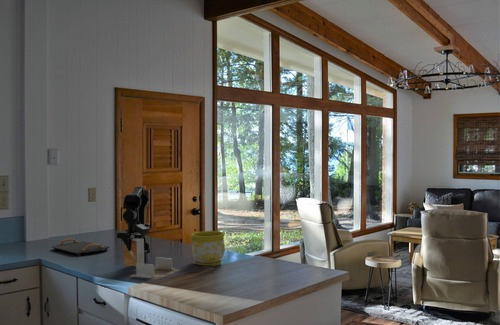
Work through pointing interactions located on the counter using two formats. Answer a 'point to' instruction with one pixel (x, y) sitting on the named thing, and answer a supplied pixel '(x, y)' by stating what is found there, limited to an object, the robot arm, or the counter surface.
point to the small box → (134, 252)
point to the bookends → (148, 269)
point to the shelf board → (160, 273)
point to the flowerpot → (208, 247)
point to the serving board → (79, 247)
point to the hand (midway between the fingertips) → (133, 249)
